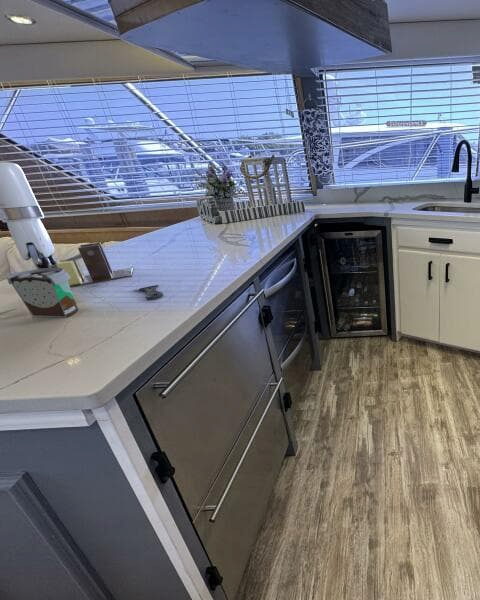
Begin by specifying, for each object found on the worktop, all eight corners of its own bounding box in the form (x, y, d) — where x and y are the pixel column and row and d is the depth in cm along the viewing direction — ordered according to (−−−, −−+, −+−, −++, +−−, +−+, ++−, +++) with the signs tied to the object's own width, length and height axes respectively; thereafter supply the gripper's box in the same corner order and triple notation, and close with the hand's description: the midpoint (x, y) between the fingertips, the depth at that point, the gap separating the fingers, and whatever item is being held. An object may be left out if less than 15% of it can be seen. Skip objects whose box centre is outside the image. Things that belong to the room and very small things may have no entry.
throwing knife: (145, 301, 79) (144, 298, 79) (134, 283, 93) (133, 281, 92) (166, 295, 82) (165, 293, 82) (152, 279, 95) (151, 277, 95)
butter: (66, 285, 89) (55, 264, 86) (71, 278, 95) (61, 258, 92) (80, 283, 91) (70, 262, 88) (84, 276, 97) (75, 256, 94)
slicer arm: (44, 279, 88) (33, 269, 86) (46, 276, 90) (36, 266, 88) (101, 254, 93) (92, 245, 91) (102, 252, 95) (93, 243, 94)
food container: (99, 306, 78) (81, 266, 74) (72, 317, 72) (51, 275, 68) (56, 305, 79) (37, 266, 75) (27, 316, 74) (4, 275, 70)
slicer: (70, 290, 89) (51, 252, 85) (76, 281, 96) (59, 246, 92) (133, 279, 96) (119, 243, 92) (134, 271, 104) (121, 238, 100)
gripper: (10, 212, 87) (43, 276, 94) (-12, 219, 75) (27, 292, 82) (49, 209, 91) (77, 271, 98) (33, 215, 79) (67, 285, 86)
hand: (54, 280), depth 90 cm, fingers closed on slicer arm, 3 cm apart
